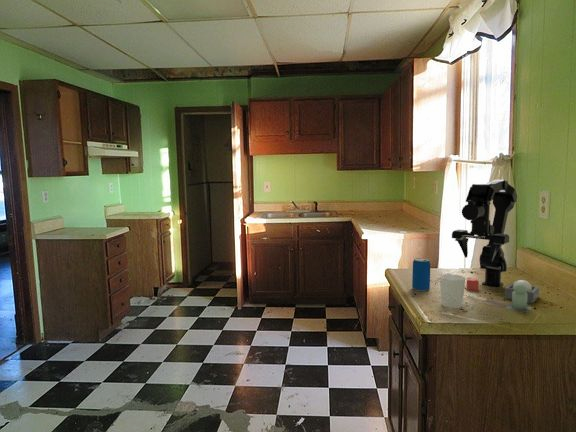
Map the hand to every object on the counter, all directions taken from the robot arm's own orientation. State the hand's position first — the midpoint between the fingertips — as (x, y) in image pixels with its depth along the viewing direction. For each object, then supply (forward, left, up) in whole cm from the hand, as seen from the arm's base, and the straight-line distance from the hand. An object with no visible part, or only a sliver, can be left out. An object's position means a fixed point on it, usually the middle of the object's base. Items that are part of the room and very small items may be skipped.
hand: (478, 259), depth 154 cm
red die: (-4, -3, -13) cm, 14 cm away
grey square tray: (-4, +14, -13) cm, 20 cm away
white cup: (+20, -2, -13) cm, 24 cm away
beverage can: (+9, -18, -13) cm, 24 cm away
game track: (+8, +9, -13) cm, 18 cm away
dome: (-4, +14, -12) cm, 19 cm away
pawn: (+8, +16, -13) cm, 22 cm away
